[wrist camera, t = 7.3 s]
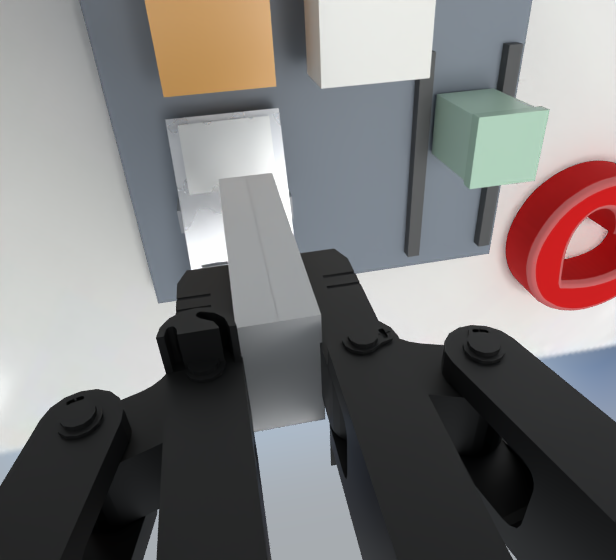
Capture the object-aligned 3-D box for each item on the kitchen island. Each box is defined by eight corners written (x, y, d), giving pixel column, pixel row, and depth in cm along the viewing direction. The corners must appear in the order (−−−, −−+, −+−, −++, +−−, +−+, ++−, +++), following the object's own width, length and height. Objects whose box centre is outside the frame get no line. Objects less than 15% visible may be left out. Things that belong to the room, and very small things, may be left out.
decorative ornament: (479, 275, 35) (502, 301, 33) (554, 142, 31) (588, 160, 28) (583, 297, 38) (612, 322, 36) (665, 179, 34) (705, 198, 31)
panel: (73, -58, 21) (53, -60, 18) (521, -83, 24) (572, -88, 21) (159, 284, 30) (156, 322, 27) (473, 238, 33) (503, 268, 30)
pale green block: (435, 92, 25) (479, 117, 21) (495, 85, 25) (549, 109, 22) (429, 155, 27) (469, 189, 23) (486, 148, 27) (534, 180, 23)
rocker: (167, 120, 23) (164, 119, 22) (276, 109, 24) (279, 107, 23) (203, 326, 26) (202, 335, 24) (300, 311, 26) (304, 319, 25)
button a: (143, -39, 20) (137, -37, 17) (256, -46, 20) (266, -45, 18) (166, 82, 22) (163, 97, 20) (267, 72, 23) (276, 86, 20)
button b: (301, -48, 19) (317, -48, 17) (411, -55, 20) (440, -55, 18) (307, 73, 22) (321, 88, 20) (404, 64, 22) (429, 78, 20)
